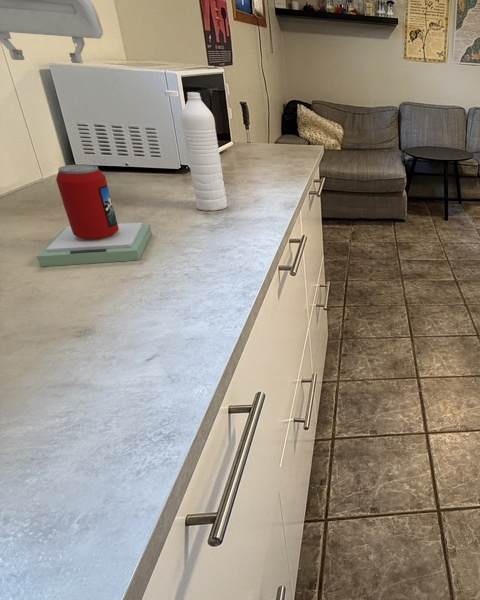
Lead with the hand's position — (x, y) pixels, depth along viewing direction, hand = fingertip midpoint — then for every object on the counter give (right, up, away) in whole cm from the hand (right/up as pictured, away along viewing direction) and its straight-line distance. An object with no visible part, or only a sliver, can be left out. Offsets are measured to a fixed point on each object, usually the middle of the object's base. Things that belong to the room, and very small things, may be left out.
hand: (48, 61), depth 92 cm
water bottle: (+22, -25, +18) cm, 38 cm away
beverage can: (+16, -36, -8) cm, 39 cm away
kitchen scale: (+15, -38, -7) cm, 41 cm away
